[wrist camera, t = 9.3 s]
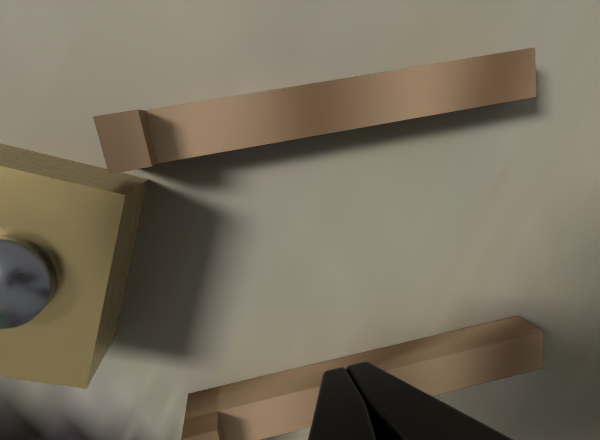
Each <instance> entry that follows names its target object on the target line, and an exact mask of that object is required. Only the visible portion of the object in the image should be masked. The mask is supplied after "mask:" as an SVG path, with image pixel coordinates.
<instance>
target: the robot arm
mask: <svg viewBox="0 0 600 440" xmlns="http://www.w3.org/2000/svg"><path fill="white" fill-rule="evenodd" d="M308 440H513V439H511V438H509V437H507V436H505V435H503V434H501V433H500V432H498V431H496V430H494V429H492V428H490V427H488V426H487V425H485V424H483V423H481V422H479V421H477V420H475V419H474V418H472V417H470V416H468V415H466V414H464V413H462V412H461V411H459V410H457V409H455V408H453V407H451V406H449V405H448V404H446V403H444V402H442V401H440V400H438V399H436V398H434V397H433V396H431V395H429V394H427V393H425V392H423V391H421V390H420V389H418V388H416V387H414V386H412V385H410V384H408V383H407V382H405V381H403V380H401V379H399V378H397V377H395V376H394V375H392V374H390V373H388V372H386V371H384V370H382V369H381V368H379V367H377V366H375V365H373V364H371V363H369V362H367V361H364V362H360V363H356V364H352V365H348V366H347V367H346V369H345V368H344V367H339V368H335V369H331V370H327V371H325V372H324V373H323V376H322V381H321V385H320V389H319V394H318V398H317V403H316V407H315V411H314V416H313V420H312V425H311V429H310V434H309V438H308Z"/></svg>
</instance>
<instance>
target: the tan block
mask: <svg viewBox="0 0 600 440" xmlns="http://www.w3.org/2000/svg"><path fill="white" fill-rule="evenodd" d="M147 182H148V179H145V178H141V177H137V176H133V175H129V174H124V173H120V172H118V173H113V174H109V172H108V169H104V168H100V167H95V166H91V165H87V164H83V163H79V162H75V161H71V160H66V159H62V158H58V157H54V156H50V155H46V154H42V153H37V152H33V151H29V150H25V149H21V148H17V147H13V146H9V145H4V144H0V376H1V377H8V378H15V379H22V380H29V381H36V382H43V383H50V384H57V385H64V386H71V387H78V388H85V389H86V388H87V387H88V385H89V383H90V381H91V379H92V377H93V376H94V374H95V372H96V370H97V368H98V366H99V365H100V363H101V361H102V359H103V357H104V355H105V354H106V352H107V350H108V348H109V346H110V345H111V343H112V341H113V339H114V337H115V334H116V329H117V324H118V319H119V315H120V310H121V305H122V301H123V296H124V291H125V286H126V282H127V277H128V272H129V267H130V263H131V258H132V253H133V248H134V244H135V239H136V234H137V229H138V225H139V220H140V215H141V210H142V206H143V201H144V196H145V191H146V187H147Z"/></svg>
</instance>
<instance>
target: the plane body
mask: <svg viewBox="0 0 600 440" xmlns="http://www.w3.org/2000/svg"><path fill="white" fill-rule="evenodd" d="M533 97H536V65H535V48H529V49H523V50H517V51H511V52H504V53H498V54H492V55H486V56H480V57H473V58H467V59H461V60H455V61H449V62H443V63H436V64H430V65H424V66H418V67H412V68H405V69H399V70H393V71H387V72H381V73H375V74H368V75H362V76H356V77H350V78H344V79H337V80H331V81H325V82H319V83H313V84H307V85H300V86H294V87H288V88H282V89H276V90H269V91H263V92H257V93H251V94H245V95H239V96H232V97H226V98H220V99H214V100H208V101H201V102H195V103H189V104H183V105H177V106H171V107H164V108H158V109H152V110H146V111H144V110H133V111H127V112H120V113H114V114H108V115H102V116H96V117H93V118H94V121H95V125H96V129H97V132H98V136H99V140H100V143H101V147H102V151H103V154H104V158H105V161H106V165H107V169H108V172H109V174H113V173H118V172H124V171H130V170H136V169H141V168H147V167H152V166H154V165H156V164H158V163H163V162H169V161H174V160H180V159H186V158H191V157H197V156H203V155H208V154H214V153H220V152H225V151H231V150H237V149H243V148H248V147H254V146H260V145H265V144H271V143H277V142H282V141H288V140H294V139H299V138H305V137H311V136H316V135H322V134H328V133H334V132H339V131H345V130H351V129H356V128H362V127H368V126H373V125H379V124H385V123H390V122H396V121H402V120H407V119H413V118H419V117H425V116H430V115H436V114H442V113H447V112H453V111H459V110H464V109H470V108H476V107H481V106H487V105H493V104H498V103H504V102H510V101H516V100H521V99H527V98H533ZM364 361H367V362H369V363H371V364H373V365H375V366H377V367H379V368H381V369H382V370H384V371H386V372H388V373H390V374H392V375H394V376H395V377H397V378H399V379H401V380H403V381H405V382H407V383H408V384H410V385H412V386H414V387H416V388H418V389H420V390H421V391H423V392H425V393H427V394H429V395H431V396H435V395H439V394H443V393H447V392H451V391H455V390H459V389H463V388H467V387H470V386H474V385H478V384H482V383H486V382H490V381H494V380H498V379H502V378H506V377H510V376H514V375H518V374H522V373H526V372H530V371H534V370H538V369H541V368H544V348H543V332H542V331H541V330H539V329H538V328H536V327H535V326H533V325H532V324H530V323H529V322H527V321H526V320H524V319H523V318H521V317H520V316H515V317H511V318H507V319H502V320H498V321H494V322H490V323H486V324H481V325H477V326H473V327H469V328H464V329H460V330H456V331H452V332H448V333H443V334H439V335H435V336H431V337H426V338H422V339H418V340H414V341H410V342H405V343H401V344H397V345H393V346H389V347H384V348H380V349H376V350H372V351H367V352H363V353H359V354H355V355H351V356H346V357H342V358H338V359H334V360H329V361H325V362H321V363H317V364H313V365H308V366H304V367H300V368H296V369H291V370H287V371H283V372H279V373H275V374H270V375H266V376H262V377H258V378H253V379H249V380H245V381H241V382H237V383H232V384H228V385H224V386H220V387H215V388H211V389H207V390H203V391H199V392H194V393H190V394H188V400H187V406H186V413H185V419H184V425H183V432H182V438H181V440H261V439H265V438H269V437H273V436H277V435H281V434H285V433H289V432H293V431H297V430H301V429H305V428H309V427H311V425H312V420H313V416H314V411H315V407H316V403H317V398H318V394H319V389H320V385H321V381H322V376H323V373H324V372H325V371H327V370H331V369H335V368H339V367H344V368H345V369H346V367H347V366H348V365H352V364H356V363H360V362H364Z"/></svg>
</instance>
